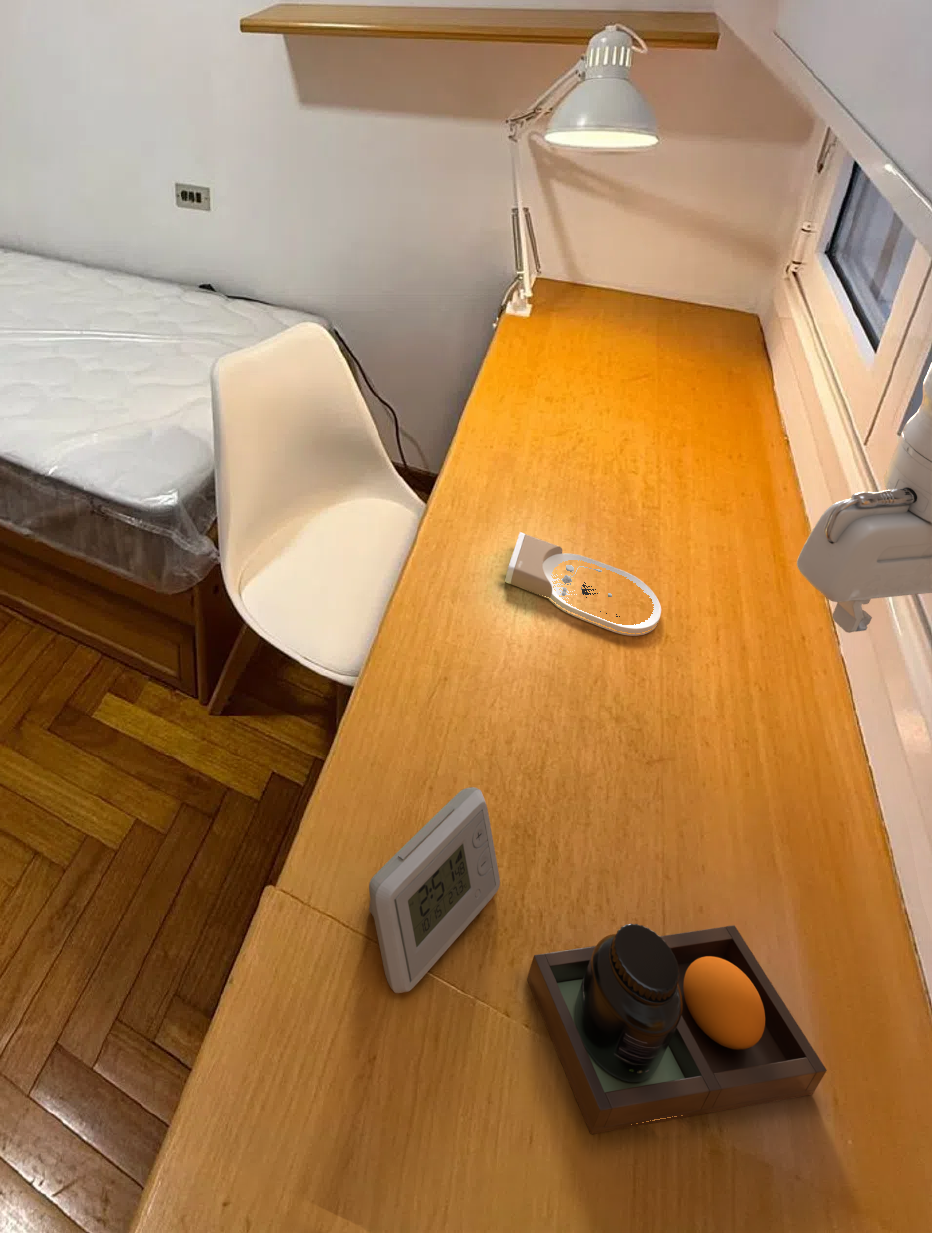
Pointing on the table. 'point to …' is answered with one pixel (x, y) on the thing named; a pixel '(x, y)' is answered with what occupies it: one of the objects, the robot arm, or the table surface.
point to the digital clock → (434, 888)
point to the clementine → (724, 1003)
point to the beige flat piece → (566, 580)
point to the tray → (678, 1045)
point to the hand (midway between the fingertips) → (898, 620)
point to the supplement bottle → (629, 1002)
